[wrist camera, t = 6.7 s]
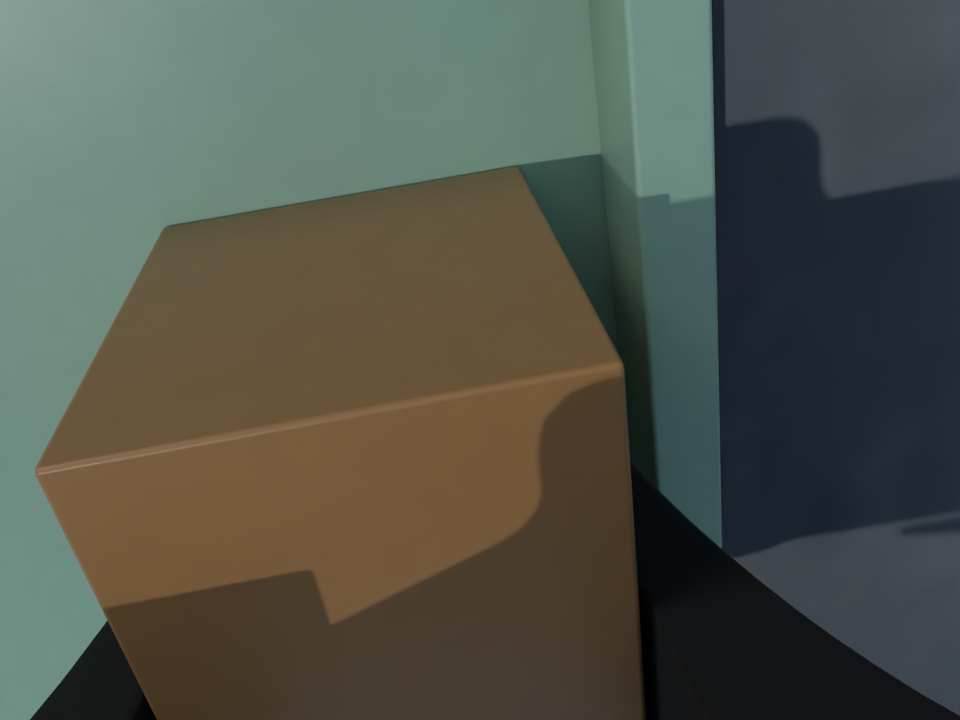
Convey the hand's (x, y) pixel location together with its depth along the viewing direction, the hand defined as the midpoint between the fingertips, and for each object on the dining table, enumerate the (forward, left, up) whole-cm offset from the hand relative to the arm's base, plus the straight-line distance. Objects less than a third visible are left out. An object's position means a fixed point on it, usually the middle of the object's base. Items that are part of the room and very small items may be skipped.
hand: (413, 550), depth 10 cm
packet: (0, 0, -1) cm, 1 cm away
